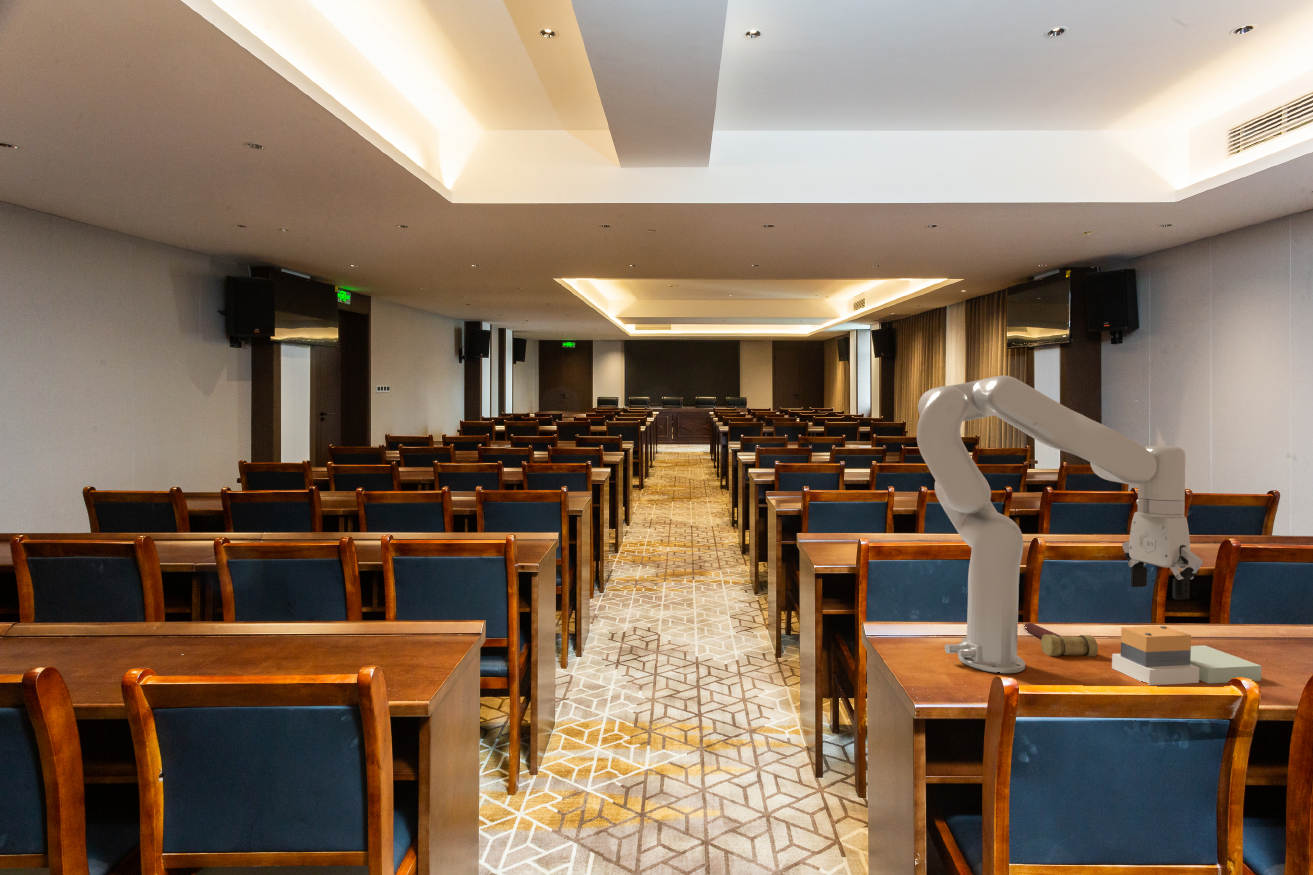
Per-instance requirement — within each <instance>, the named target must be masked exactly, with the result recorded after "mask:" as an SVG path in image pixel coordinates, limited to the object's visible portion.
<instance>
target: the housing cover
mask: <svg viewBox="0 0 1313 875" xmlns="http://www.w3.org/2000/svg"><path fill="white" fill-rule="evenodd" d="M1120 629H1121V631H1120V632H1121V633H1120V643H1121V642H1123V643H1125V644H1128V645H1130V646H1132V647H1135V648H1137V649H1140V650H1142V651H1145V652H1158V651H1181V650H1191V646H1192V635H1191V634H1190V633H1186V632H1185V631H1181V630H1178V629H1175V628H1173V627H1169V626H1166V625H1154V626H1152V625H1151V626H1149V625H1148V626H1126V627H1124V626H1123V627H1121V628H1120Z"/></svg>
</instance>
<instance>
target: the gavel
mask: <svg viewBox="0 0 1313 875" xmlns="http://www.w3.org/2000/svg"><path fill="white" fill-rule="evenodd" d="M1022 624H1023V625H1025V626H1024V627H1027V628H1025V629H1026V630H1027V631H1028V632H1027V633H1028V634H1030V635H1032V636H1034V637H1036V638H1038V639H1040V646H1041V649H1042V652H1043V653H1044V654H1045V655H1046V656H1049V657H1060V656H1085V657H1088V658H1089V657H1091V658H1093V657H1094V658H1095V657H1096V656H1097V654H1098V651H1099V646H1098V643H1097V640H1096V639H1095V637H1094V636H1093V635H1090V634H1080V635H1078V636H1074V635H1073V636H1070V635H1068V636H1066V635H1065V636H1063V635H1062V636H1061V635H1060V634H1058V633H1055V632H1053V631H1051V630H1048V629H1046V628H1044V627H1042V626H1040V625H1037V624H1034V623H1032V622H1026V623H1025V622H1023V623H1022ZM1025 629H1024V630H1025ZM1026 630H1025V631H1026Z"/></svg>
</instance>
